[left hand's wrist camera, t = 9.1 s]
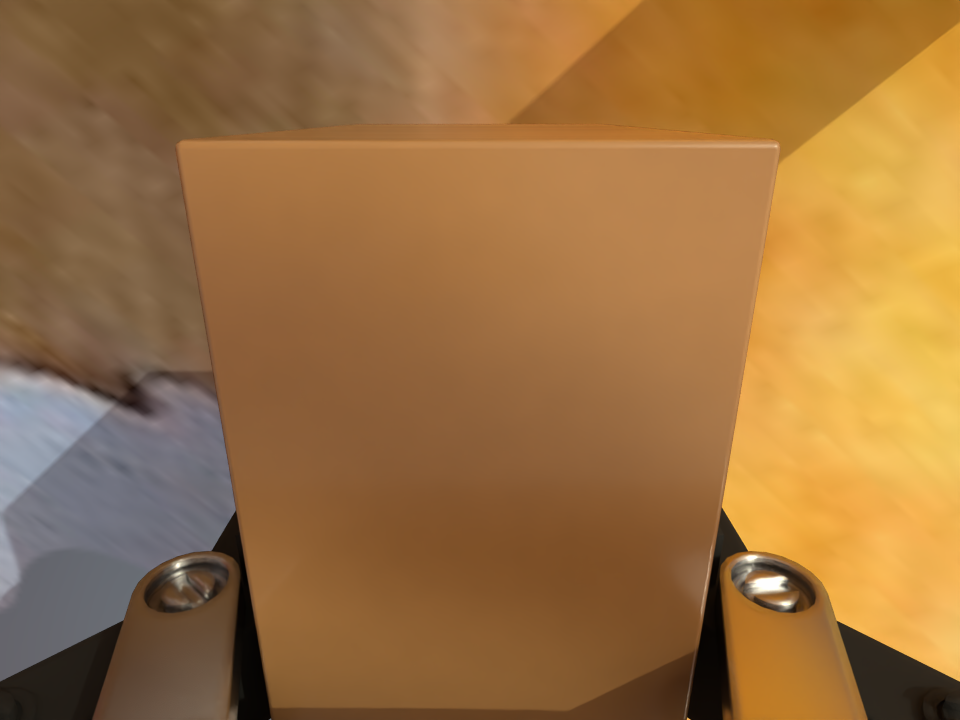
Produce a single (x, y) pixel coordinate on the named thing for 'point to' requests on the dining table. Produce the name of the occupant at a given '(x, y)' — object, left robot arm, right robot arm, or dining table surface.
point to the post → (478, 405)
